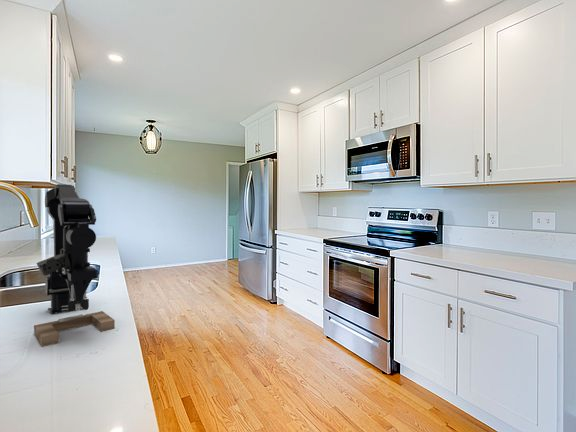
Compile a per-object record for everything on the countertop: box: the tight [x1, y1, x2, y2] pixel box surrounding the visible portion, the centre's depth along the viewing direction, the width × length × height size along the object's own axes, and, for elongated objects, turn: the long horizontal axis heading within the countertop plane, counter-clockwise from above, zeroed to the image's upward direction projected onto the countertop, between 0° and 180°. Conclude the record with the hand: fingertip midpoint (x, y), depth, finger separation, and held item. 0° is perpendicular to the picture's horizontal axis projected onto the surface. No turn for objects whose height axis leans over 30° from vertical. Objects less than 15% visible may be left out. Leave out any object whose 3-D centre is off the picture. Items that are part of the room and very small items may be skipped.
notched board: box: [33, 310, 116, 347], centre depth 89 cm, size 11×17×3 cm, turn 137°
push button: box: [62, 281, 90, 312], centre depth 89 cm, size 7×5×10 cm
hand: (76, 299), depth 89 cm, fingers closed on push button, 4 cm apart
